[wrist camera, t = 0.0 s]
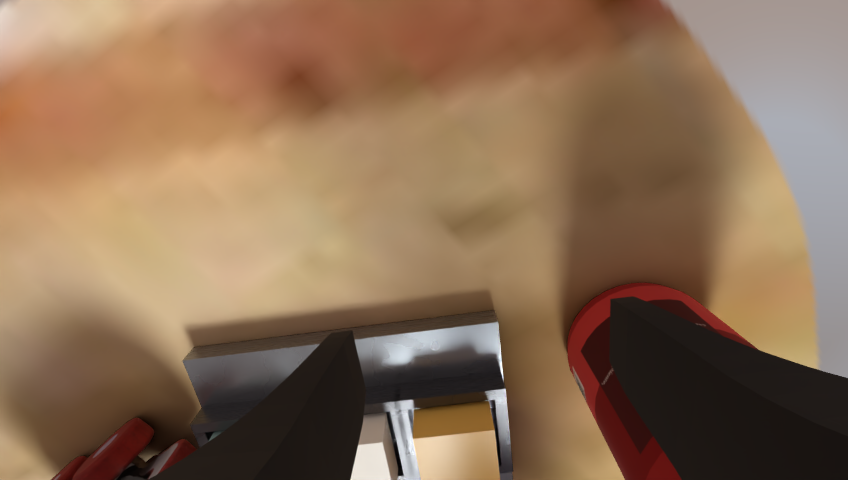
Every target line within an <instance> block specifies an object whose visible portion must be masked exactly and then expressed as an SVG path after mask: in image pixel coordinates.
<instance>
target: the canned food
mask: <svg viewBox="0 0 848 480" xmlns="http://www.w3.org/2000/svg"><path fill="white" fill-rule="evenodd" d="M631 296H634V297H637V298H639V299H642V300H644V301H647V302H649V303H651V304H653V305H656V306H658V307H660V308H662V309H664V310H666V311H669V312H671V313H673V314H675V315H677V316H679V317H682V318H684V319H686V320H688V321H690V322H692V323H695V324H697V325H699V326H701V327H703V328H706V329H708V330H710V331H713V332H715V333H717V334H720V335H722V336H724V337H727V338H729V339H732V340H734V341H737V342H739V343H742V344H744V345H747V346H749V347H752V348H754V349H757V348H755V347H754V346H753V345H752V344H750V343H749V342H748V341H747V340H745V339H744V338H743V337H742V336H740V335H739V334H738V333H737V332H735V331H734V330H733V329H731V328H730V327H729V326H728V325H726V324H725V323H724V322H723V321H721V320H720V319H719V318H718V317H716V316H715V315H714V314H712V313H711V312H710V311H709V310H707V309H706V308H705V307H704V306H702V305H701V304H700V303H699V302H697V301H696V300H695V299H693V298H692V297H690V296H688V295H687V294H685V293H683V292H681V291H678V290H675V289H672V288H669V287H666V286H662V285H659V284H652V283H631V284H626V285H621V286H617V287H615V288H612V289H610V290H607V291H605V292H603V293H602V294H600V295H598V296H597V297H595V298H594V299H592V300H591V301H590V302H589V303H588V304H587V305H585V306H584V307H583V309H582V310H581V311H580V312H579V314H578V315H577V316H576V318H575V320H574V322H573V324H572V326H571V328H570V332H569V335H568V346H567V351H568V362H569V366H570V370H571V372H572V374H573V376H574V378H575V380H576V382H577V384H578V386H579V388H580V390H581V392H582V394H583V396H584V398H585V400H586V402H587V404H588V406H589V408H590V410H591V412H592V414H593V416H594V418H595V420H596V422H597V424H598V426H599V428H600V430H601V432H602V434H603V436H604V438H605V440H606V442H607V444H608V446H609V448H610V450H611V452H612V454H613V456H614V458H615V460H616V462H617V464H618V466H619V468H620V470H621V472H622V474H623V476H624V478H625V480H682V479H681V478H680V476H679V474H678V473H677V471H676V470H675V468H674V466H673V465H672V463H671V462H670V460H669V459H668V457H667V456H666V454H665V453H664V451H663V450H662V449H661V447H660V446H659V444H658V443H657V441H656V440H655V438H654V437H653V435H652V434H651V432H650V431H649V429H648V428H647V426H646V425H645V423H644V422H643V420H642V419H641V417H640V416H639V414H638V413H637V411H636V410H635V408H634V406H633V405H632V403H631V402H630V400H629V399H628V397H627V396H626V394H625V392H624V390H623V388H622V386H621V384H620V382H619V381H618V379H617V376H616V374H615V372H614V370H613V368H612V366H611V364H610V361H609V352H610V299H614V298H622V297H631ZM757 350H758V349H757Z"/></svg>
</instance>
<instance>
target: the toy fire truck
mask: <svg viewBox="0 0 848 480" xmlns="http://www.w3.org/2000/svg"><path fill="white" fill-rule="evenodd" d="M153 435H154V431H153V428H152V427H150V426H149V425H148V424H146V423H145V422H144V421H143V420H141V419H140V418H133V419H131V420H130V421H128V422H127V423H126V424H124V425H123V426H122V427H121V428H120V429H118V430H117V431H116V432H115V433H114V434H113V435H111V436H110V437H109V438H108V439H107V440H106V441H105V442H104V443H103V444H102V445H101V446H100V447H99V448H98V449H97V450H96V451H95V452H94V453H93V454H92V455H91V456H90V457H89V458H88V457H86V456H80V457H77V458H76V459H74V460H73V461H72V462H70V463H69V464H68V465H67V466H66V467H64V468H63V469H62V470H61V471H60V472H59V473H58V474H57V475H56V476H55V477H54V478H52V479H51V480H148V479H150V478H152V477H153V476H155V475H157V474H159V473H160V472H162V471H164V470H165V469H167V468H169V467H170V466H172V465H174V464H175V463H177V462H179V461H180V460H182V459H183V458H185V457H187V456H188V455H190V454H191V453H193V452H194V451H196V450H197V449H196V448H195V447H194V446H193V445H192V444H191V443H189V442H188V441H187V440H186V439H181V440H179V441H177V442H175V443H174V444H173V445H171V446H170V447H169V448H167V449H166V450H165V451H163V452H162V453H161V454H159V455H154V456H153V457H151V458H150V459H149V460H148V461H147V462H145V461H144V460H143V459H142V458H140V457H139V456H138V455H139V454H140V453H141V452H142V451H143V450H144V449H145V447H146V446H147V445H148V444H149V442H150V441H151V439H152V437H153Z"/></svg>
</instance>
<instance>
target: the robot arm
mask: <svg viewBox="0 0 848 480" xmlns="http://www.w3.org/2000/svg"><path fill="white" fill-rule="evenodd" d="M609 361H610V364H611V366H612V368H613V370H614V372H615V374H616V376H617V379H618V381H619V382H620V384H621V386H622V388H623V390H624V392H625V394H626V396H627V397H628V399H629V400H630V402H631V403H632V405H633V406H634V408H635V410H636V411H637V413H638V414H639V416H640V417H641V419H642V420H643V422H644V423H645V425H646V426H647V428H648V429H649V431H650V432H651V434H652V435H653V437H654V438H655V440H656V441H657V443H658V444H659V446H660V447H661V449H662V450H663V451H664V453H665V454H666V456H667V457H668V459H669V460H670V462H671V463H672V465H673V466H674V468H675V470H676V471H677V473H678V474H679V476H680V478H681V479H682V480H848V378H845V377H842V376H838V375H834V374H830V373H826V372H823V371H820V370H817V369H813V368H810V367H807V366H804V365H801V364H798V363H795V362H792V361H789V360H786V359H783V358H780V357H777V356H774V355H771V354H768V353H765V352H762V351H760V350H757V349H754V348H752V347H749V346H747V345H744V344H742V343H739V342H737V341H734V340H732V339H729V338H727V337H724V336H722V335H720V334H717V333H715V332H713V331H710V330H708V329H706V328H703V327H701V326H699V325H697V324H695V323H692V322H690V321H688V320H686V319H684V318H682V317H679V316H677V315H675V314H673V313H671V312H669V311H666V310H664V309H662V308H660V307H658V306H656V305H653V304H651V303H649V302H647V301H644V300H642V299H639V298H637V297H634V296H631V297H622V298H614V299H610V352H609ZM365 395H366V387H365V383H364V378H363V374H362V370H361V365H360V361H359V357H358V353H357V348H356V344H355V340H354V335H353V331H352V330H351V331H343V332H335V333H331V334H330V335H329V336H327V337H326V338H325V339H324V340H323V341H322V342H321V344H320V345H319V346H318V347H317V348H316V349H315V350H314V351H313V352H312V353H311V354H310V355H309V356H308V357H307V358H306V359H305V360H304V361H303V362H302V363H301V364H300V365H299V366H298V367H297V368H296V369H295V370H294V371H293V372H292V373H291V374H290V375H289V376H288V377H287V378H286V379H285V380H284V381H283V382H282V383H281V384H280V385H279V386H278V387H276V388H275V389H274V390H273V391H272V392H271V393H270V394H269V395H268V396H267V397H266V398H265V399H264V400H262V401H261V402H260V403H259V404H258V405H257V406H255V407H254V408H253V409H252V410H251V411H249V412H248V413H247V414H246V415H244V416H243V417H242V418H241V419H239V420H238V421H237V422H235V423H234V424H233V425H232V426H230V427H229V428H228V429H226V430H225V431H223V432H222V433H221V434H219V435H218V436H216V437H215V438H213V439H212V440H210V441H209V442H207V443H206V444H204V445H203V446H201V447H200V448H199V449H197V450H196V451H194V452H193V453H191V454H190V455H188V456H187V457H185V458H183V459H182V460H180V461H179V462H177V463H175V464H174V465H172V466H170V467H169V468H167V469H165V470H164V471H162V472H160V473H159V474H157V475H155V476H153V477H152V478H150V479H148V480H350V479H351V475H352V471H353V466H354V462H355V457H356V453H357V448H358V444H359V439H360V434H361V430H362V425H363V418H364V408H365Z"/></svg>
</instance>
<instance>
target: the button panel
mask: <svg viewBox="0 0 848 480" xmlns="http://www.w3.org/2000/svg"><path fill="white" fill-rule="evenodd" d="M351 330H352V331H353V335H354V340H355V344H356V348H357V353H358V357H359V361H360V365H361V370H362V374H363V378H364V383H365V387H366V395H365V408H364V415H367V414H376V413H384V412H386V415H387V419H388V424H389V428H390V433H391V437H392V442H393V446H394V451H395V456H396V460H397V465H398V478H397V480H421V478H420V473H419V468H418V463H417V458H416V453H415V448H414V443H413V417H414V409H420V408H429V407H437V406H446V405H455V404H464V403H473V402H482V401H489V404H490V409H491V414H492V419H493V424H494V429H495V437H496V446H497V456H498V465H499V474H500V480H513V476H512V472H513V464H512V453H511V442H510V431H509V420H508V409H507V398H506V388H505V385H504V379H503V368H502V357H501V347H500V336H499V325H498V320H497V316H496V313H495V310H493V311H485V312H477V313H468V314H460V315H452V316H444V317H436V318H428V319H420V320H412V321H404V322H396V323H388V324H380V325H372V326H364V327H355V328H347V329H339V330H331V331H323V332H315V333H307V334H299V335H291V336H283V337H275V338H267V339H259V340H251V341H242V342H234V343H226V344H218V345H210V346H202V347H194V348H193V349H192V350H191V352H190V353H189V354H188V355H187V356H186V357H185V358H184V360H183V363H184V365H185V368H186V370H187V373H188V375H189V378H190V380H191V382H192V385H193V387H194V390H195V392H196V395H197V397H198V399H199V402H200V404H201V407H202V408H201V410H200V411H199V413H198V414H197V415H196V417H195V418H194V420H193V421H192V423H191V424H190V426H191V428H192V431H193V433H194V435H195V438H196V440H197V442H198V445H199V447H201V446H203V445H204V444H206V443H207V442H208V441H209V440H210V438H211V436H212V435H213V433H214V432H216V431H225V430H226V429H228V428H229V427H230V426H232V425H233V424H234V423H235V422H237V421H238V420H239V419H241V418H242V417H243V416H244V415H246V414H247V413H248V412H249V411H251V410H252V409H253V408H254V407H255V406H257V405H258V404H259V403H260V402H261V401H262V400H264V399H265V398H266V397H267V396H268V395H269V394H270V393H271V392H272V391H273V390H274V389H275V388H276V387H278V386H279V385H280V384H281V383H282V382H283V381H284V380H285V379H286V378H287V377H288V376H289V375H290V374H291V373H292V372H293V371H294V370H295V369H296V368H297V367H298V366H299V365H300V364H301V363H302V362H303V361H304V360H305V359H306V358H307V357H308V356H309V355H310V354H311V353H312V352H313V351H314V350H315V349H316V348H317V347H318V346H319V345H320V344H321V342H322V341H323V340H324V339H325V338H326V337H327V336H329V335H330V334H331V333H335V332H343V331H351Z"/></svg>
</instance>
